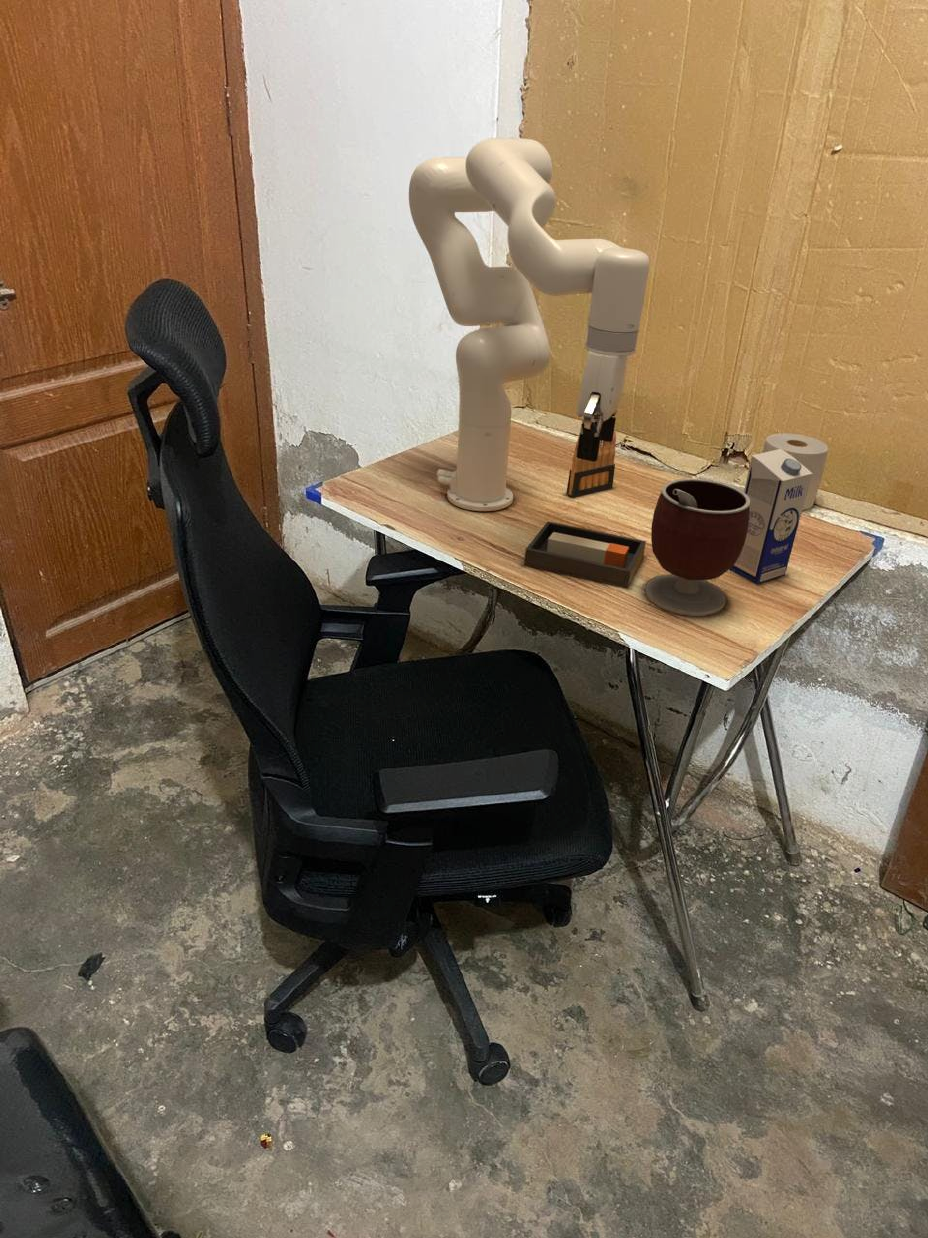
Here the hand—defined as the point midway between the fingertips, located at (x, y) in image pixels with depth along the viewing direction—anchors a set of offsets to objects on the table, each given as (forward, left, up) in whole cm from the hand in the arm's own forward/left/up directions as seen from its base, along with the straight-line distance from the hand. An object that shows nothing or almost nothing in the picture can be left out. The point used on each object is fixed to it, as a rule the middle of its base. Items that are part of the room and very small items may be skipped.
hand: (594, 449), depth 137 cm
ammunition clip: (-6, +29, -19) cm, 35 cm away
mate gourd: (+18, -7, -19) cm, 27 cm away
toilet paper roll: (+30, +44, -19) cm, 57 cm away
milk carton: (+28, +8, -19) cm, 35 cm away
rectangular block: (+1, -2, -18) cm, 18 cm away
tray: (+1, -1, -19) cm, 19 cm away
